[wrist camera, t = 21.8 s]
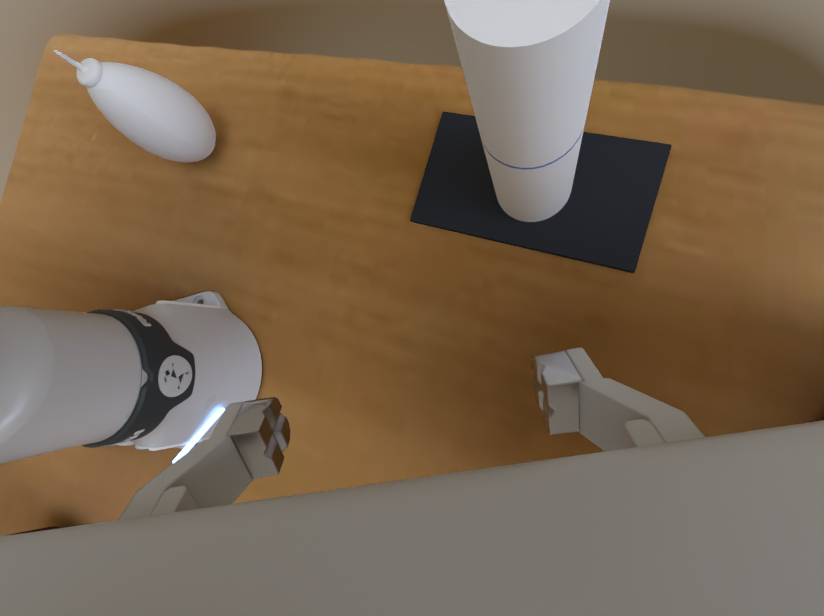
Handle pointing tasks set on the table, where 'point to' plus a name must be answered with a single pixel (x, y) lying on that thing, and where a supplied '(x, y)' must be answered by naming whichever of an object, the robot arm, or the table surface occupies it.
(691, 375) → the table surface
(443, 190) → the felt mat
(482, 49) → the cylindrical container
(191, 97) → the white bulb air blower
